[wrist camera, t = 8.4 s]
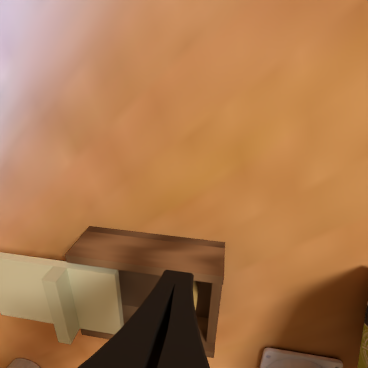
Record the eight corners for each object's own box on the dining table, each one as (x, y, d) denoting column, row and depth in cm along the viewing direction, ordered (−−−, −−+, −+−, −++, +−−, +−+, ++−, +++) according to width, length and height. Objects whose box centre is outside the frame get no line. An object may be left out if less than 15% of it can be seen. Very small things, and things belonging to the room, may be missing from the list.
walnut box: (224, 242, 24) (223, 276, 20) (215, 317, 28) (213, 357, 24) (89, 226, 25) (65, 254, 22) (100, 299, 30) (81, 334, 26)
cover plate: (118, 268, 22) (106, 290, 20) (124, 328, 25) (115, 352, 23) (-16, 249, 24) (-39, 268, 22) (6, 308, 27) (-12, 329, 25)
